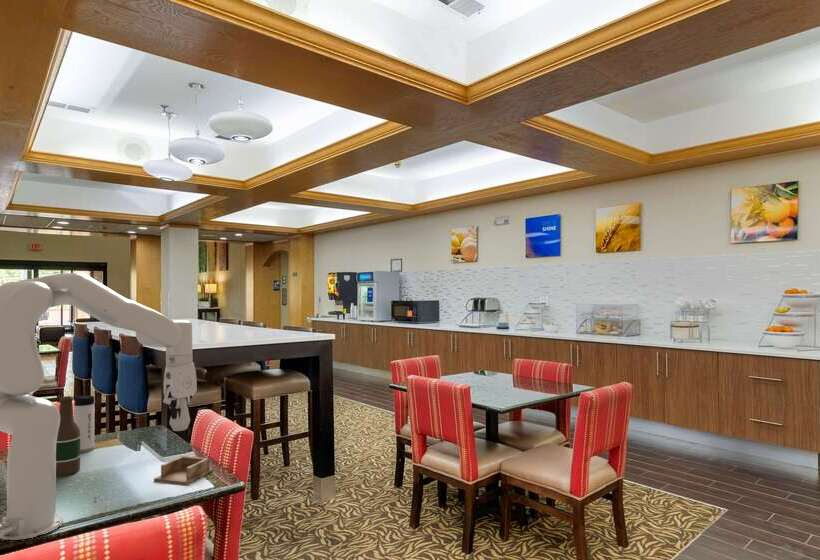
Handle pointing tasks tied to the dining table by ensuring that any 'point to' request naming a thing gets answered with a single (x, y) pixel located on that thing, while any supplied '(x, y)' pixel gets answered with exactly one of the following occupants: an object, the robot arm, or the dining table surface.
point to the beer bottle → (67, 440)
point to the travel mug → (85, 420)
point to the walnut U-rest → (184, 470)
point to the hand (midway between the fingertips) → (180, 418)
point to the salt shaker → (181, 417)
